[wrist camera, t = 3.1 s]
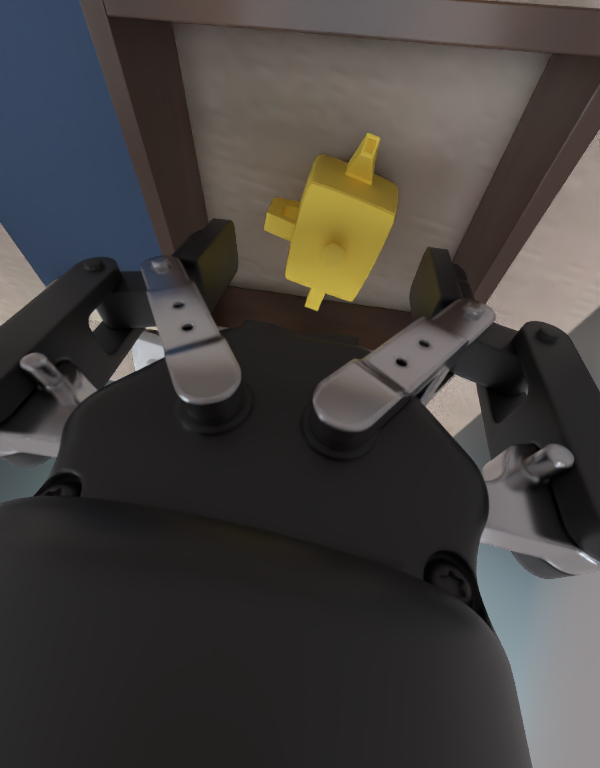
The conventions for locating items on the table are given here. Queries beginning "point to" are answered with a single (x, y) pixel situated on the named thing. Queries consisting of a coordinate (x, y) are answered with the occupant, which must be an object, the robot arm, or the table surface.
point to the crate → (362, 20)
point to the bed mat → (64, 147)
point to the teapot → (336, 224)
